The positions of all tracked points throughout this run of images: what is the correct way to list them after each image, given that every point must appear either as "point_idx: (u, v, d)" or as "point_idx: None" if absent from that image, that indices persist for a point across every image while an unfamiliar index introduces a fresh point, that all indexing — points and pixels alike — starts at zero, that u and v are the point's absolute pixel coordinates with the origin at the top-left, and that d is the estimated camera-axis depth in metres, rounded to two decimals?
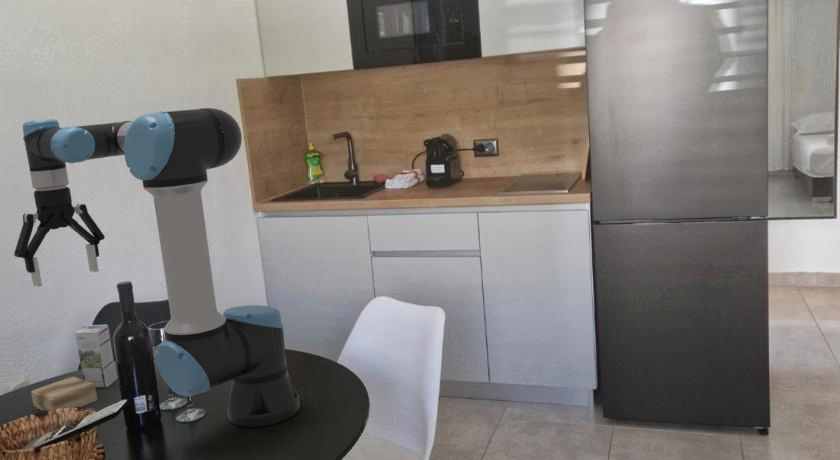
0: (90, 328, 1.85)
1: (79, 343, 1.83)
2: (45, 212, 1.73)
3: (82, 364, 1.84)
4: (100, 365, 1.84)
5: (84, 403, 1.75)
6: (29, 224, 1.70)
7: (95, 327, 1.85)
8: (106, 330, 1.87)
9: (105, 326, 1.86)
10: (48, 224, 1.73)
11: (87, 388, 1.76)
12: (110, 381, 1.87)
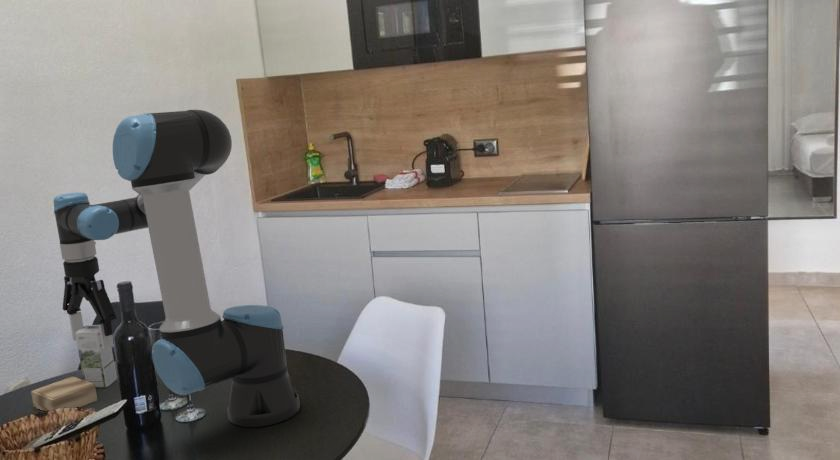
0: (90, 328, 1.85)
1: (79, 343, 1.83)
2: (73, 279, 1.84)
3: (82, 364, 1.84)
4: (101, 365, 1.84)
5: (84, 403, 1.75)
6: (65, 285, 1.87)
7: (95, 327, 1.85)
8: None
9: None
10: (72, 290, 1.84)
11: (87, 388, 1.76)
12: (110, 381, 1.87)
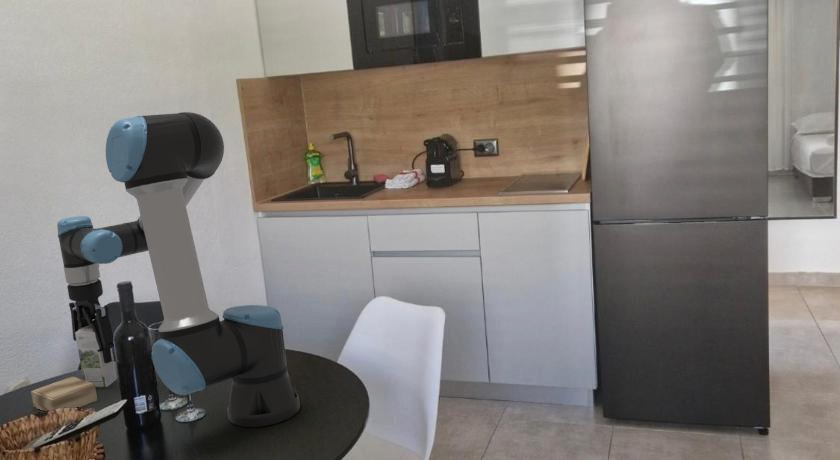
0: (90, 328, 1.85)
1: (79, 343, 1.83)
2: (76, 301, 1.85)
3: (82, 364, 1.84)
4: None
5: (84, 403, 1.75)
6: (71, 312, 1.88)
7: None
8: None
9: None
10: (77, 315, 1.85)
11: (87, 388, 1.76)
12: (110, 381, 1.87)
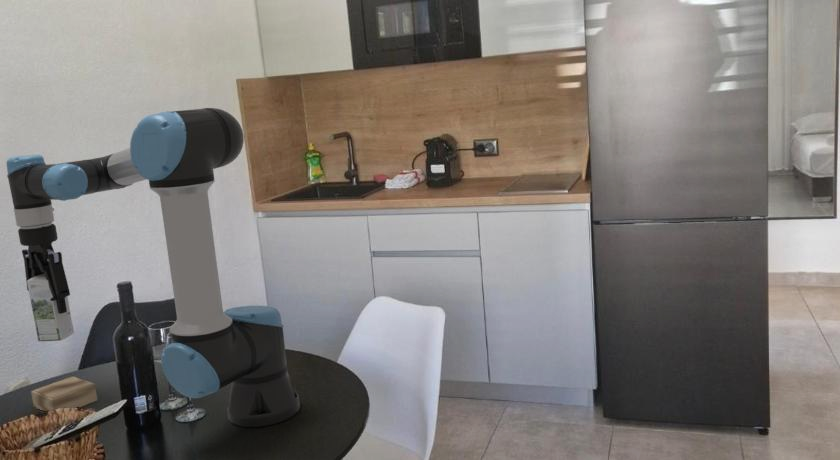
0: (44, 276, 1.71)
1: (31, 292, 1.70)
2: (29, 247, 1.72)
3: (35, 315, 1.71)
4: None
5: (84, 403, 1.75)
6: (24, 260, 1.74)
7: None
8: None
9: None
10: (30, 262, 1.72)
11: (87, 388, 1.76)
12: (66, 334, 1.74)
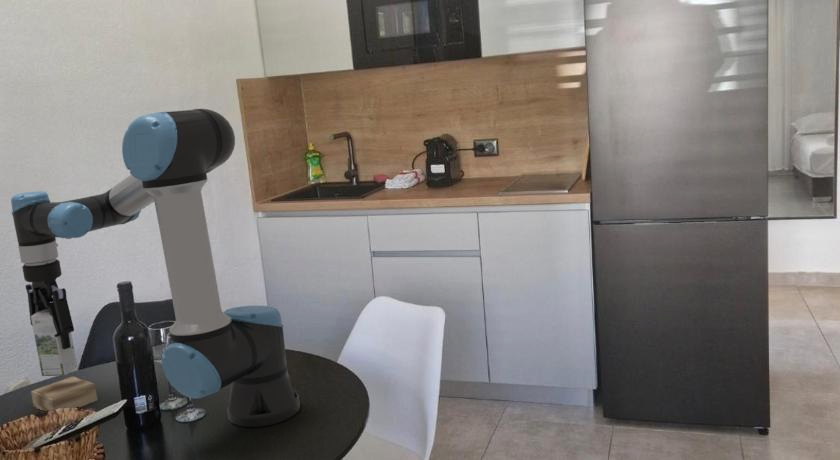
0: (47, 311, 1.72)
1: (35, 327, 1.71)
2: (33, 283, 1.73)
3: (39, 350, 1.72)
4: None
5: (84, 403, 1.75)
6: (28, 294, 1.75)
7: None
8: None
9: None
10: (34, 297, 1.72)
11: (87, 388, 1.76)
12: (69, 368, 1.75)
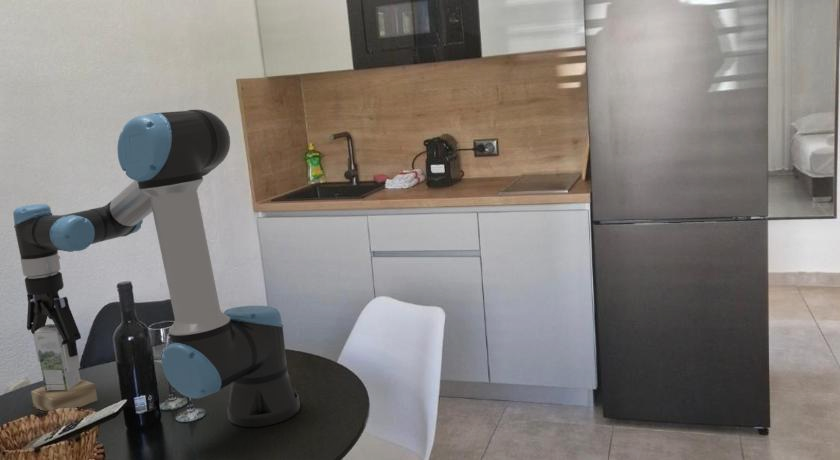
0: (51, 327, 1.73)
1: (39, 343, 1.72)
2: (35, 295, 1.73)
3: (42, 365, 1.73)
4: (61, 366, 1.72)
5: (84, 403, 1.75)
6: (28, 302, 1.76)
7: None
8: None
9: None
10: (35, 308, 1.73)
11: (87, 388, 1.76)
12: (72, 384, 1.75)
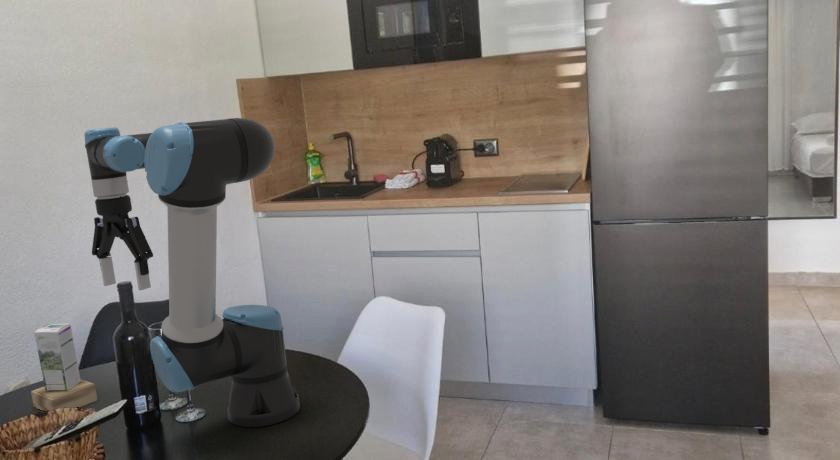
0: (51, 327, 1.73)
1: (39, 343, 1.72)
2: (104, 219, 1.76)
3: (42, 365, 1.73)
4: (61, 366, 1.72)
5: (84, 403, 1.75)
6: (95, 227, 1.79)
7: (56, 326, 1.73)
8: (68, 329, 1.75)
9: (67, 325, 1.75)
10: (103, 231, 1.76)
11: (87, 388, 1.76)
12: (72, 384, 1.75)
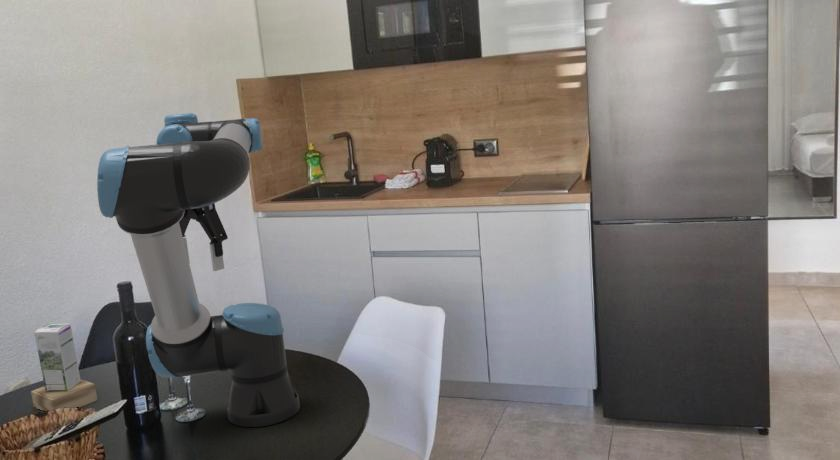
0: (51, 327, 1.73)
1: (39, 343, 1.72)
2: None
3: (42, 365, 1.73)
4: (61, 366, 1.72)
5: (84, 403, 1.75)
6: None
7: (56, 326, 1.73)
8: (68, 329, 1.75)
9: (67, 325, 1.75)
10: None
11: (87, 388, 1.76)
12: (72, 384, 1.75)
